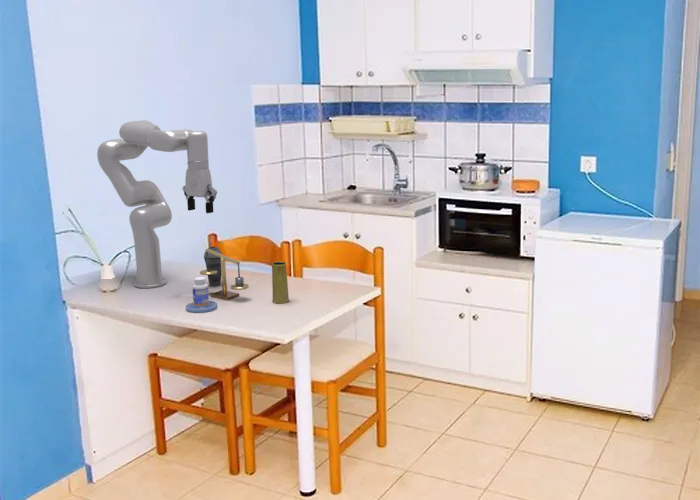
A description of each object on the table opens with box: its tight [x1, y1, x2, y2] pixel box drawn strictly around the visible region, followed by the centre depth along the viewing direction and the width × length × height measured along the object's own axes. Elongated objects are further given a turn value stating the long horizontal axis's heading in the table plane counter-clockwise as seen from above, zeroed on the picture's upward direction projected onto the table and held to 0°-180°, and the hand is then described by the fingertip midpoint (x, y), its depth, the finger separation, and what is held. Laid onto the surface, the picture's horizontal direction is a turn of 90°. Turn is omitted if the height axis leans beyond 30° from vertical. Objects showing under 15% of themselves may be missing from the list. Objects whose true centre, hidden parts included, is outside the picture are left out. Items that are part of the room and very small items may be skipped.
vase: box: [271, 261, 290, 304], centre depth 278 cm, size 6×6×14 cm
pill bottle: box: [192, 276, 210, 307], centre depth 272 cm, size 5×5×10 cm
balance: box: [199, 248, 249, 301], centre depth 285 cm, size 22×6×18 cm, turn 55°
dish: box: [185, 300, 218, 314], centre depth 273 cm, size 11×11×1 cm
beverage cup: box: [203, 235, 223, 288], centre depth 301 cm, size 7×7×20 cm
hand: (200, 211), depth 285 cm, fingers open, 9 cm apart
